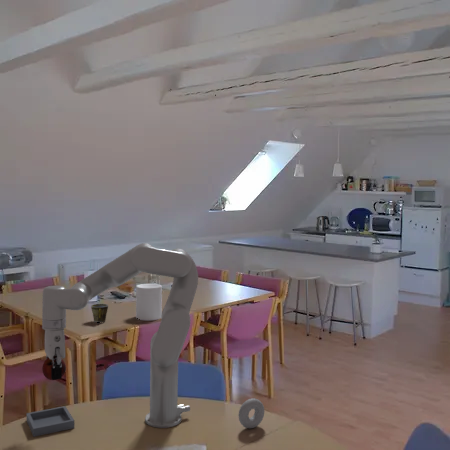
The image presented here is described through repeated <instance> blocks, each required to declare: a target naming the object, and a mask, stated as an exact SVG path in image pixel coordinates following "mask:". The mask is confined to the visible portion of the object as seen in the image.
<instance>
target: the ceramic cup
mask: <svg viewBox="0 0 450 450" xmlns="http://www.w3.org/2000/svg"><path fill="white" fill-rule="evenodd" d="M90 308H91V312H92V317H93V322H94V323H95V322H104V323H105V322H106V320H107V315H108V310H109V304H106V303H94V304H91V306H90Z"/></svg>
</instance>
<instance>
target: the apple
mask: <svg viewBox="0 0 450 450" xmlns="http://www.w3.org/2000/svg"><path fill="white" fill-rule="evenodd" d="M53 358H56V357H53ZM55 361H56V360H55ZM55 361H54V363H55ZM61 362H62V377H63V376H64V375H65V373H66V370H67V367H66V363H65V361H64V360H63V359H62V360H61ZM51 368H53V367H52V360H51V359H49V357H48V358H47V359H46V358H45V360H44V362H43V364H42V369H41V370H42V373H43V376H44V377H45V378H46V379H47V380H49V381H53V380H52V379H51ZM57 380H58V379H56V380H55V381H57Z"/></svg>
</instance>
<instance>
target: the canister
mask: <svg viewBox="0 0 450 450" xmlns="http://www.w3.org/2000/svg"><path fill="white" fill-rule="evenodd" d="M135 292H136V293H135V294H136V295H135V300H136V301H135V319H137V318H138V319H137V320H139V319H140V320H139V321H156V320H160V319H161V315H162V311H163V307H162V304H163V301H162V300H163V294H162V293H163V286H162V284H159V283H141V284H137V285H136V287H135Z"/></svg>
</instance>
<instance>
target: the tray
mask: <svg viewBox="0 0 450 450" xmlns="http://www.w3.org/2000/svg"><path fill="white" fill-rule="evenodd" d="M26 422H27V425H28V427H29V430H30V432H31V434H32V437H33V438H35V437H39V436H44V435H47V434H53V433H57V432H62V431H66V430H71V429H75V419H74V417H73V416H72V415H71V412H70V411H69V409H68V408H67V406H66V405H65V406H64V405H63V406H58V407H53V408H48V409H47V408H46V409H42V410H37V411H32V412H26Z"/></svg>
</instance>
